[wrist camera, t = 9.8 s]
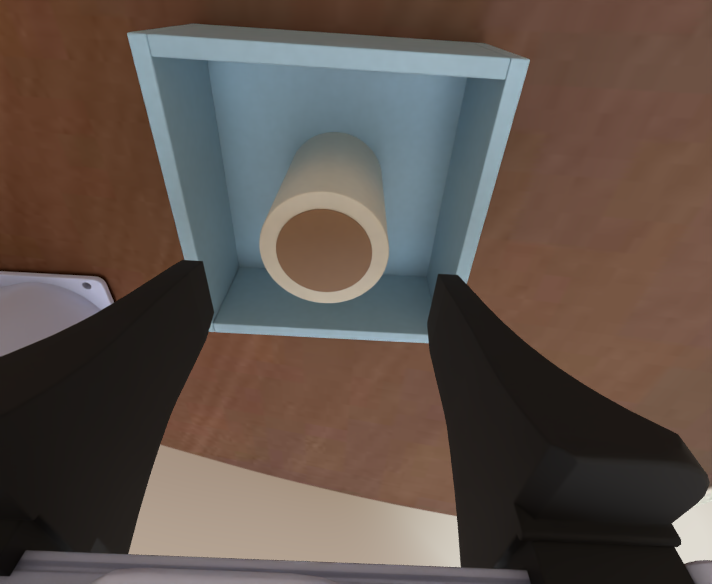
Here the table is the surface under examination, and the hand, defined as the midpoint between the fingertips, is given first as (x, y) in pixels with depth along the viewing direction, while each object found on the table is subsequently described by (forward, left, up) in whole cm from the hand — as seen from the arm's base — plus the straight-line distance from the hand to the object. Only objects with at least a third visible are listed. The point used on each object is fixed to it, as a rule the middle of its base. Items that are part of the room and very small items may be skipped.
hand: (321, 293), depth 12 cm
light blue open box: (0, 0, -10) cm, 10 cm away
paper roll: (0, 0, -9) cm, 9 cm away
